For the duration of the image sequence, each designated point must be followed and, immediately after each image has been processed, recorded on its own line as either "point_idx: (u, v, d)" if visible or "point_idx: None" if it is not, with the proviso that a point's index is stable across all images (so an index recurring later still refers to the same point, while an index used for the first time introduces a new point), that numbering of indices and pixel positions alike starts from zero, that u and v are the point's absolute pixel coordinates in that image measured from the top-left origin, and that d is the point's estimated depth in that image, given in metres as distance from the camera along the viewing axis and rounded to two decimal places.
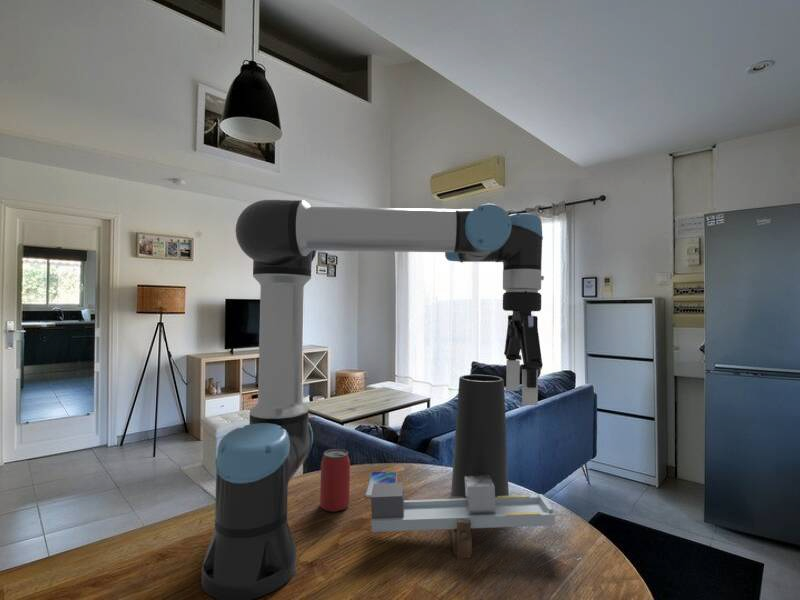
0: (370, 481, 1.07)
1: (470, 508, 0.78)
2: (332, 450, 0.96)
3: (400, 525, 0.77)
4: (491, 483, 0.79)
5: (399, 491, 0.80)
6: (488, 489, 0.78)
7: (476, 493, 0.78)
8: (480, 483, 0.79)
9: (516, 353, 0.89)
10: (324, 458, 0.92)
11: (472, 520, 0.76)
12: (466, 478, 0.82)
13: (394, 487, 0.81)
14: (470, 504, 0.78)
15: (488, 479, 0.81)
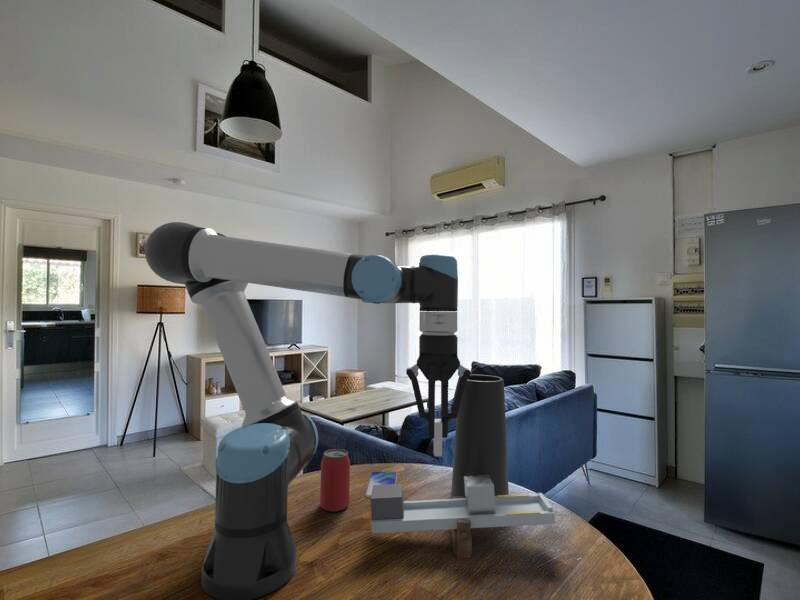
0: (370, 481, 1.07)
1: (470, 508, 0.78)
2: (332, 450, 0.96)
3: (400, 526, 0.77)
4: (490, 483, 0.79)
5: (399, 492, 0.80)
6: (488, 489, 0.78)
7: (476, 492, 0.78)
8: (479, 483, 0.79)
9: (441, 409, 0.80)
10: (324, 458, 0.92)
11: (472, 520, 0.76)
12: (465, 478, 0.82)
13: (393, 489, 0.81)
14: (470, 504, 0.78)
15: (488, 479, 0.81)
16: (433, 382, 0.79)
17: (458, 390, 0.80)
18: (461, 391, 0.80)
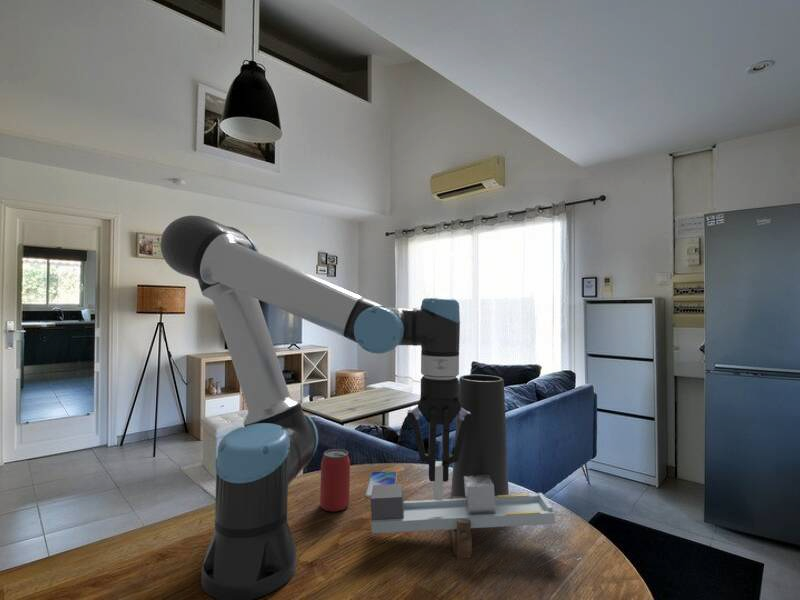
0: (370, 481, 1.07)
1: (470, 508, 0.78)
2: (332, 450, 0.96)
3: (400, 526, 0.77)
4: (490, 483, 0.79)
5: (399, 492, 0.80)
6: (488, 489, 0.78)
7: (476, 492, 0.78)
8: (479, 483, 0.79)
9: (442, 452, 0.80)
10: (324, 458, 0.92)
11: (472, 520, 0.76)
12: (465, 478, 0.82)
13: (393, 489, 0.81)
14: (470, 504, 0.78)
15: (488, 479, 0.81)
16: (434, 426, 0.79)
17: (459, 434, 0.79)
18: (462, 435, 0.79)
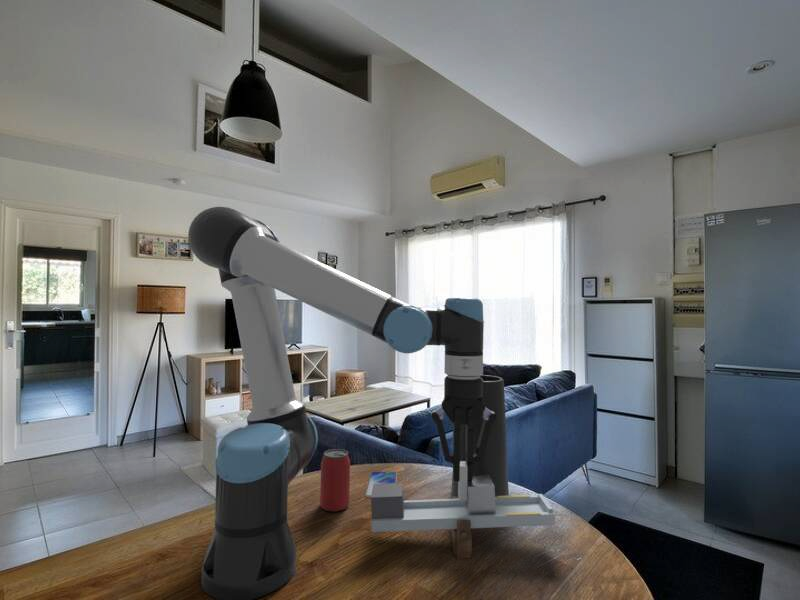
0: (370, 481, 1.07)
1: (470, 508, 0.78)
2: (332, 450, 0.96)
3: (400, 525, 0.77)
4: (491, 483, 0.79)
5: (399, 491, 0.80)
6: (488, 489, 0.78)
7: (476, 493, 0.78)
8: (480, 483, 0.79)
9: (466, 452, 0.80)
10: (324, 458, 0.92)
11: (472, 520, 0.76)
12: None
13: (393, 488, 0.81)
14: (470, 504, 0.78)
15: (488, 479, 0.81)
16: (459, 426, 0.79)
17: (483, 434, 0.79)
18: (486, 435, 0.79)
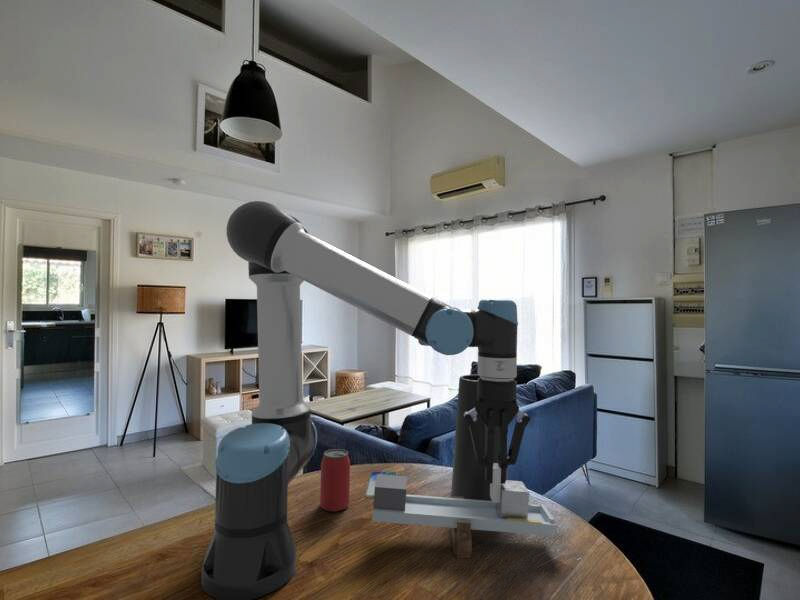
0: (370, 481, 1.07)
1: (502, 511, 0.78)
2: (332, 450, 0.96)
3: (401, 518, 0.77)
4: (525, 489, 0.79)
5: (403, 484, 0.80)
6: (523, 495, 0.78)
7: (510, 497, 0.78)
8: (514, 488, 0.79)
9: (500, 454, 0.80)
10: (324, 458, 0.92)
11: (473, 521, 0.76)
12: None
13: (397, 480, 0.81)
14: (503, 507, 0.78)
15: (522, 485, 0.81)
16: (492, 428, 0.79)
17: (517, 436, 0.79)
18: (520, 437, 0.79)
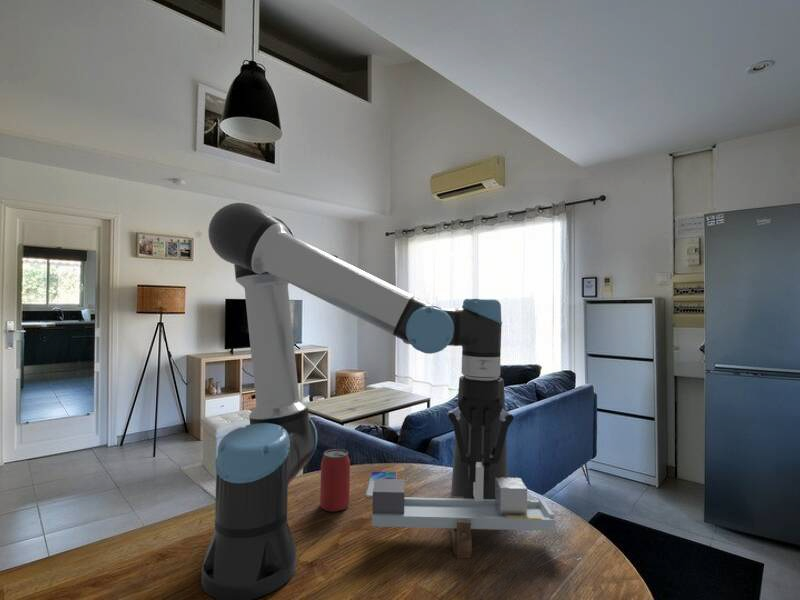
0: (370, 481, 1.07)
1: (501, 509, 0.78)
2: (332, 450, 0.96)
3: (400, 521, 0.77)
4: (523, 485, 0.79)
5: (401, 487, 0.80)
6: (521, 492, 0.78)
7: (509, 494, 0.78)
8: (512, 485, 0.79)
9: (483, 453, 0.80)
10: (324, 458, 0.92)
11: (473, 521, 0.76)
12: (497, 479, 0.82)
13: (395, 484, 0.81)
14: (502, 505, 0.78)
15: (520, 482, 0.81)
16: (475, 427, 0.79)
17: (500, 435, 0.79)
18: (503, 436, 0.79)
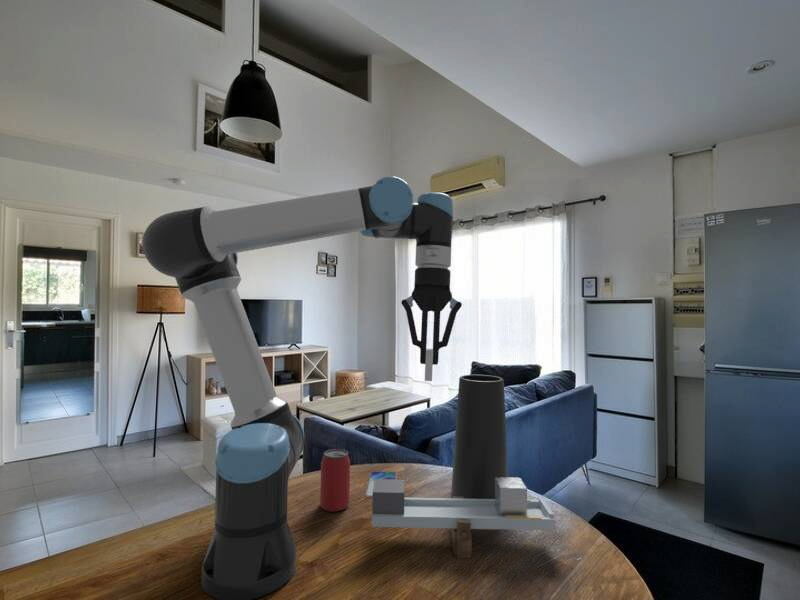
0: (370, 481, 1.06)
1: (501, 509, 0.78)
2: (332, 450, 0.96)
3: (400, 522, 0.77)
4: (523, 485, 0.79)
5: (401, 488, 0.80)
6: (521, 491, 0.78)
7: (509, 494, 0.78)
8: (512, 485, 0.79)
9: (433, 338, 0.86)
10: (324, 458, 0.92)
11: (473, 521, 0.76)
12: (497, 479, 0.82)
13: (395, 484, 0.81)
14: (501, 505, 0.78)
15: (520, 481, 0.81)
16: (426, 312, 0.85)
17: (449, 320, 0.85)
18: (452, 321, 0.85)
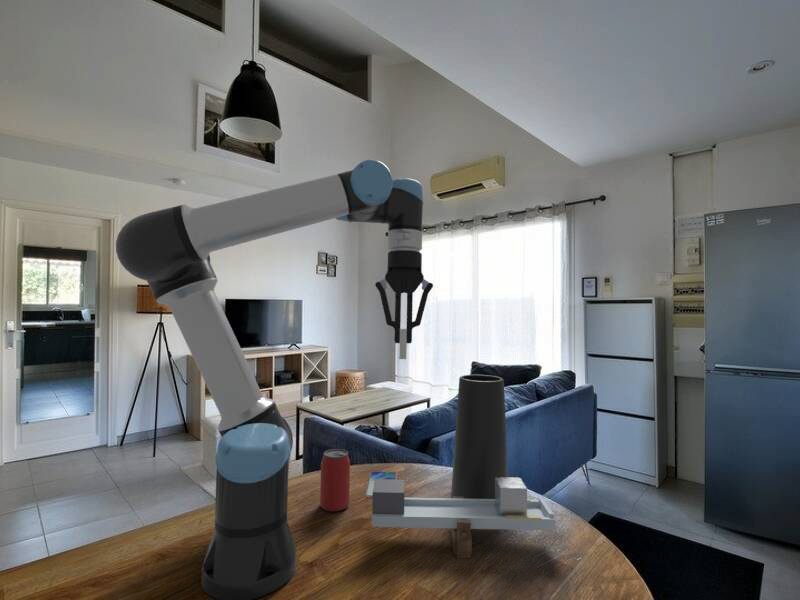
0: (370, 481, 1.06)
1: (501, 509, 0.78)
2: (332, 450, 0.96)
3: (400, 522, 0.77)
4: (523, 485, 0.79)
5: (401, 488, 0.80)
6: (521, 491, 0.78)
7: (509, 494, 0.78)
8: (512, 485, 0.79)
9: None
10: (324, 458, 0.92)
11: (473, 521, 0.76)
12: (497, 479, 0.82)
13: (395, 484, 0.81)
14: (501, 505, 0.78)
15: (520, 481, 0.81)
16: (399, 293, 0.89)
17: (421, 300, 0.89)
18: (424, 301, 0.89)
